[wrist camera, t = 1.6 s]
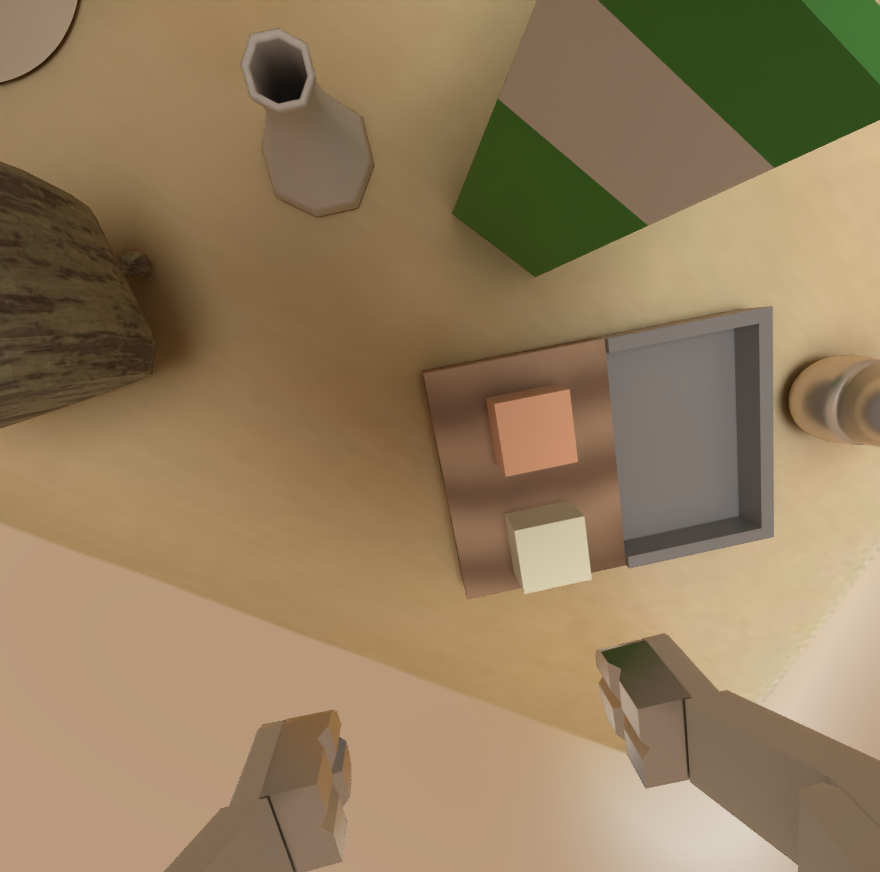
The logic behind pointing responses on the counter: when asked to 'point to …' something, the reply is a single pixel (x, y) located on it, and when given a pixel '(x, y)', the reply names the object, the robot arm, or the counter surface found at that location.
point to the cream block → (548, 546)
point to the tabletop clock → (63, 303)
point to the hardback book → (659, 113)
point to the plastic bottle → (839, 400)
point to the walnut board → (493, 494)
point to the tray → (693, 433)
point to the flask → (305, 128)
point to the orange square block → (532, 429)
